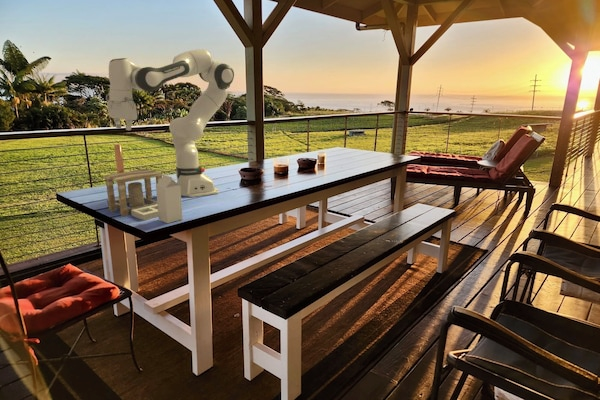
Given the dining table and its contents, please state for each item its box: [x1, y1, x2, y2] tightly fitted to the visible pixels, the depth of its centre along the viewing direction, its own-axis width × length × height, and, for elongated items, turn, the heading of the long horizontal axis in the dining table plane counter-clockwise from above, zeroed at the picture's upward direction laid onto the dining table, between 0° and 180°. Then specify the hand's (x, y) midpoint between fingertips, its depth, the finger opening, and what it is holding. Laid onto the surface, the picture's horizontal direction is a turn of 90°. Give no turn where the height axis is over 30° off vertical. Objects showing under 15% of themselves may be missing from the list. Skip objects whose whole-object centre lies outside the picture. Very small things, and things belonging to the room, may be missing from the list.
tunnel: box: [104, 168, 164, 217], centre depth 175 cm, size 13×20×16 cm, turn 142°
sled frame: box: [106, 144, 157, 216], centre depth 175 cm, size 20×14×28 cm
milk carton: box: [155, 174, 183, 224], centre depth 161 cm, size 7×7×19 cm
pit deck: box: [131, 204, 159, 221], centre depth 170 cm, size 10×14×2 cm
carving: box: [127, 181, 146, 208], centre depth 176 cm, size 6×8×12 cm
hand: (123, 129), depth 172 cm, fingers open, 8 cm apart
